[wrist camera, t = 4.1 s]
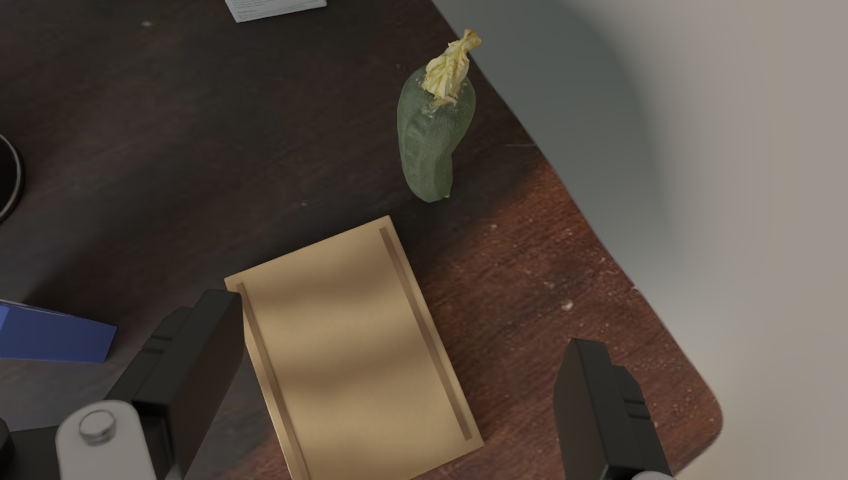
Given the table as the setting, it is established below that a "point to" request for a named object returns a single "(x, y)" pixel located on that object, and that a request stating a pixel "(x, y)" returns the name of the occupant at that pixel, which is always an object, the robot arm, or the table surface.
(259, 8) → the cosmetic box
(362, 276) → the cutting board
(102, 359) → the walkman
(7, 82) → the table surface
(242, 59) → the table surface
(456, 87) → the vegetable
